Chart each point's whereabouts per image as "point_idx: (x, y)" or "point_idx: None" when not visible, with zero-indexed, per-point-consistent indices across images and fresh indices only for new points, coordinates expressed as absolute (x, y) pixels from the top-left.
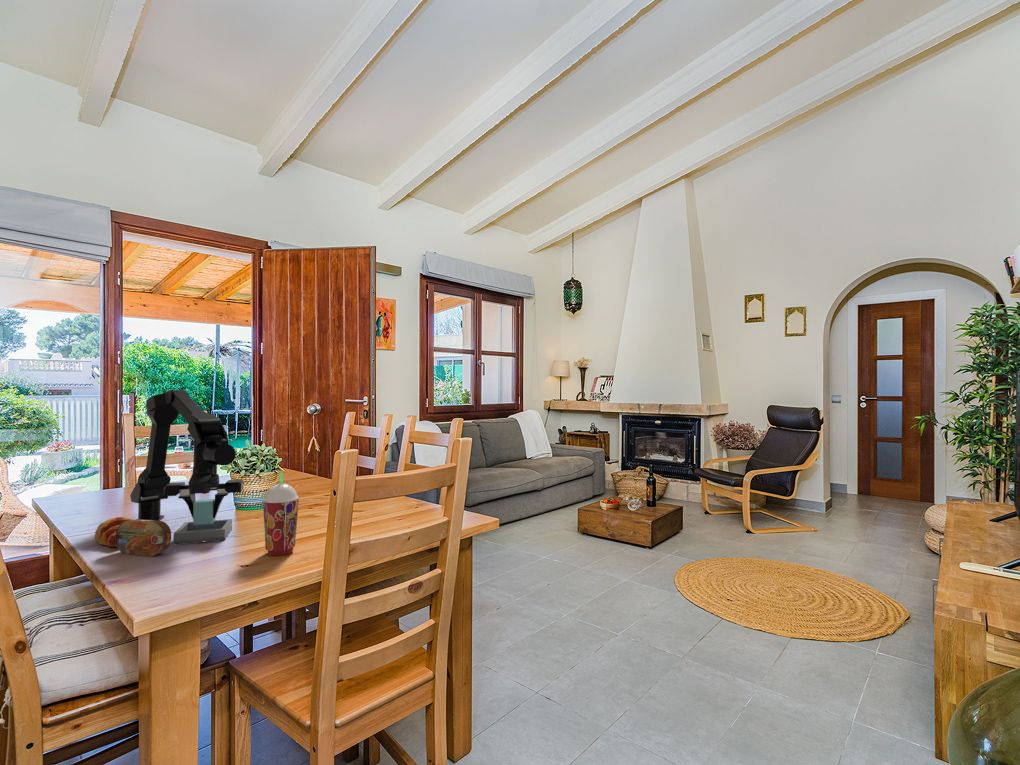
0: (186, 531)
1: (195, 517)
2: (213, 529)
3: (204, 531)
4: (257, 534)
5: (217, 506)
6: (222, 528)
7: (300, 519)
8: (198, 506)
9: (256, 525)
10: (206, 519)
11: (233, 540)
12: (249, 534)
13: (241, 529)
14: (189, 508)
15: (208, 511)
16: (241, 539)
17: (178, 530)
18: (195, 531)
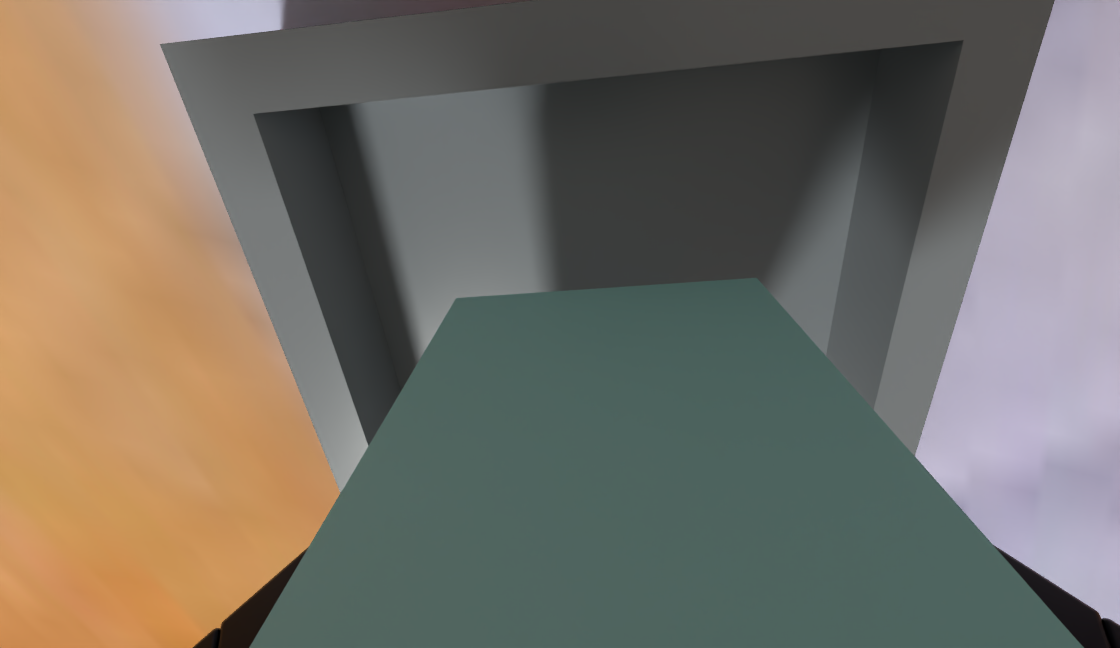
0: (827, 48)
1: (768, 352)
2: (372, 92)
3: (498, 5)
4: (43, 266)
5: (222, 638)
6: (247, 136)
7: (5, 628)
8: (824, 613)
9: (260, 559)
10: (534, 328)
11: (166, 37)
12: (136, 287)
13: (328, 478)
14: (1095, 624)
15: (461, 445)
16: (87, 68)
17: (967, 169)
18: (659, 6)
